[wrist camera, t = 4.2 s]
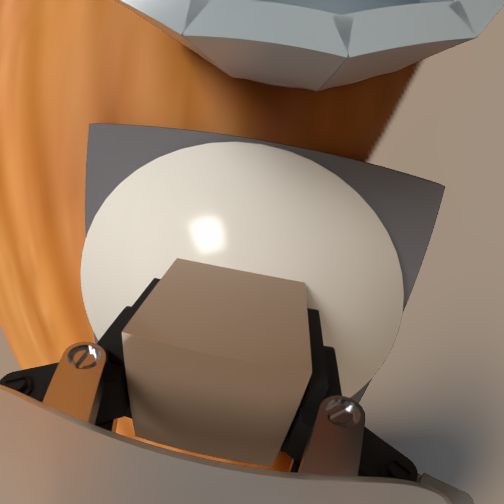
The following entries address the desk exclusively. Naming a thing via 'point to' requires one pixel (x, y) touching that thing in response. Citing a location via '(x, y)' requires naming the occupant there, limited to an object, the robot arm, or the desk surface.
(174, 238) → the lid
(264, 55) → the bowl
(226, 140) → the mat
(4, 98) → the desk surface
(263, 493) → the robot arm
